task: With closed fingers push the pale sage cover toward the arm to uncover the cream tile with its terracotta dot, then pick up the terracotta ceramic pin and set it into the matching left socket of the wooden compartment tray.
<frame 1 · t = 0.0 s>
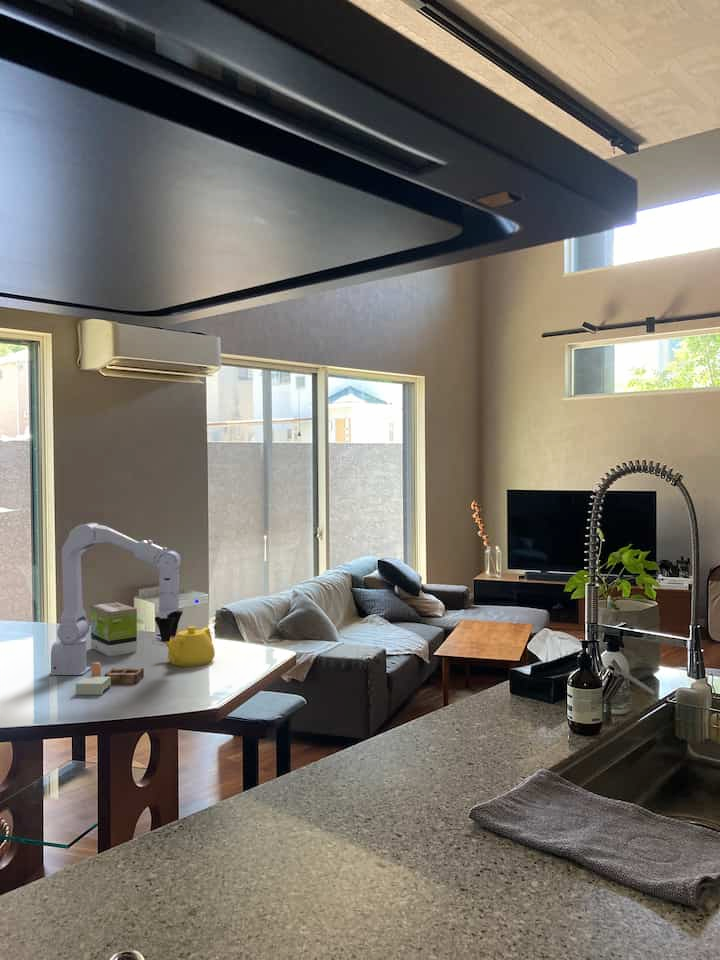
hand: (168, 638, 223), 10 cm above the table, fingers open, 7 cm apart
pin: (95, 684, 210), on the table
tile: (93, 691, 203), on the table
teapot: (185, 662, 237), on the table
cover: (93, 685, 203), point 2 cm above the table, slide at 0.0 cm
wooden compartment tray: (124, 680, 214), on the table
tea box: (113, 651, 251), on the table
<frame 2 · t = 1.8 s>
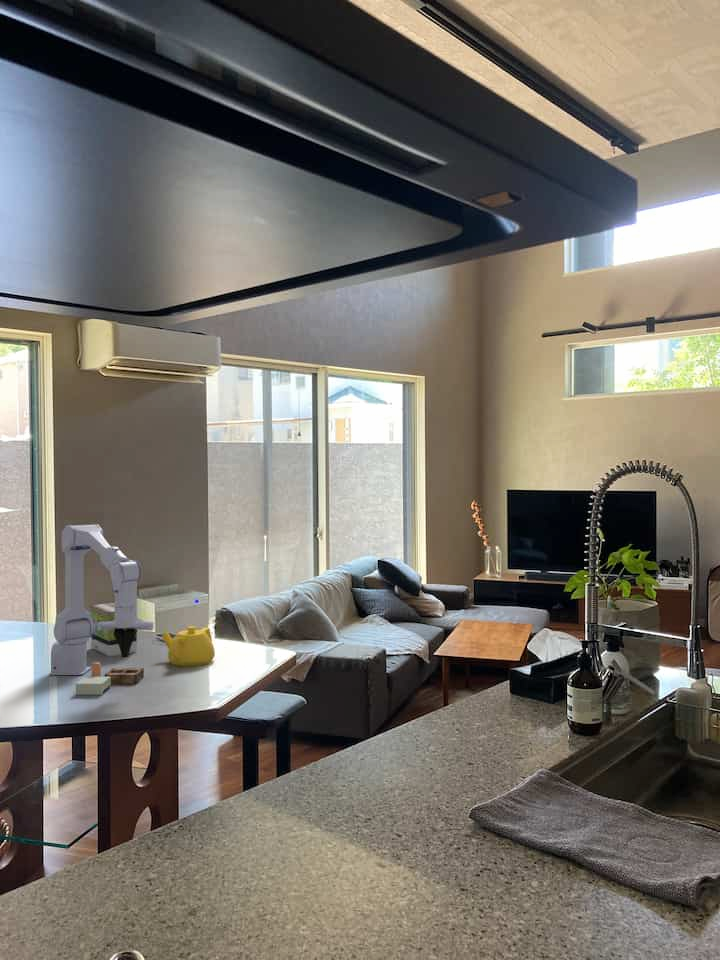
hand: (125, 656, 203), 9 cm above the table, fingers closed
nothing on the table moved.
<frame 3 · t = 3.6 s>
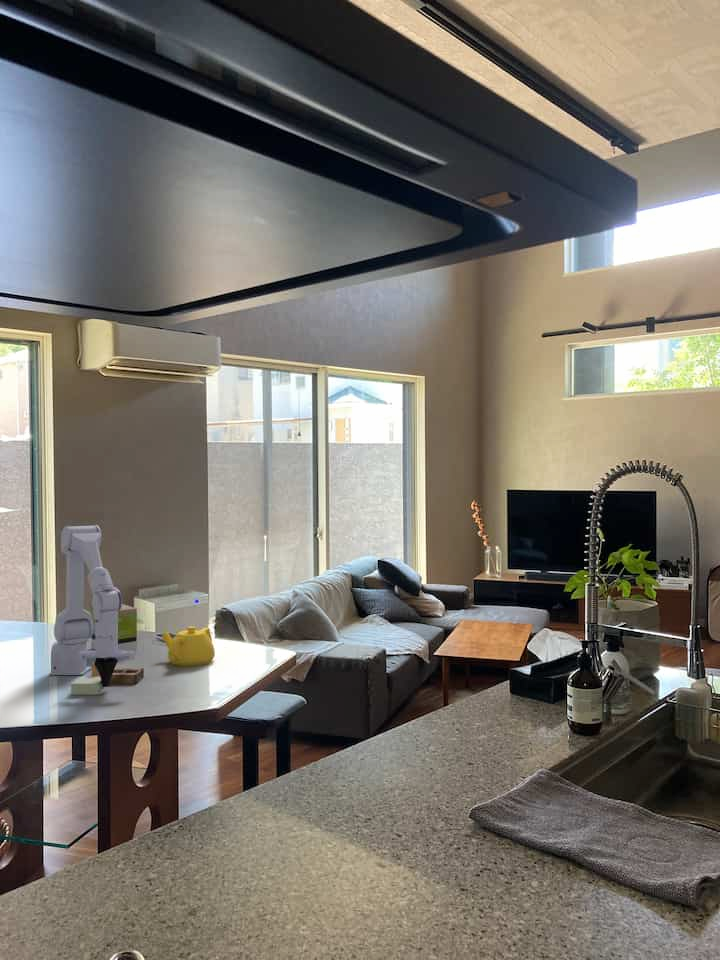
hand: (106, 686, 203), 1 cm above the table, fingers closed
cover: (89, 685, 203), point 2 cm above the table, slide at 1.2 cm, touching gripper
everything else where it was.
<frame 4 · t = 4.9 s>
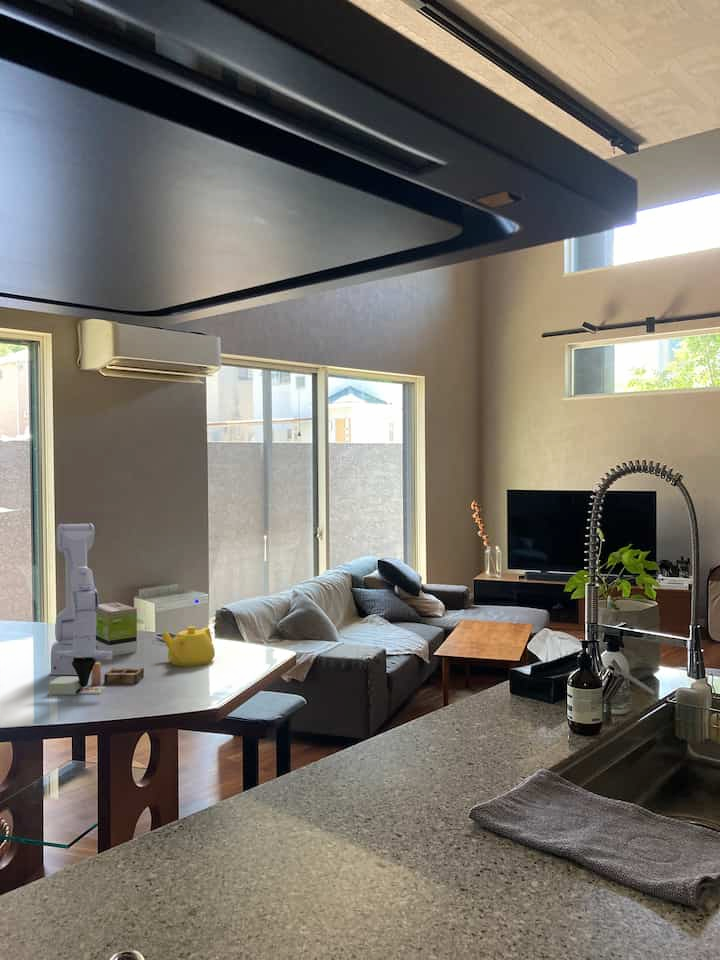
hand: (84, 685, 203), 1 cm above the table, fingers closed
cover: (66, 685, 203), point 2 cm above the table, slide at 7.1 cm, touching gripper
everything else where it was.
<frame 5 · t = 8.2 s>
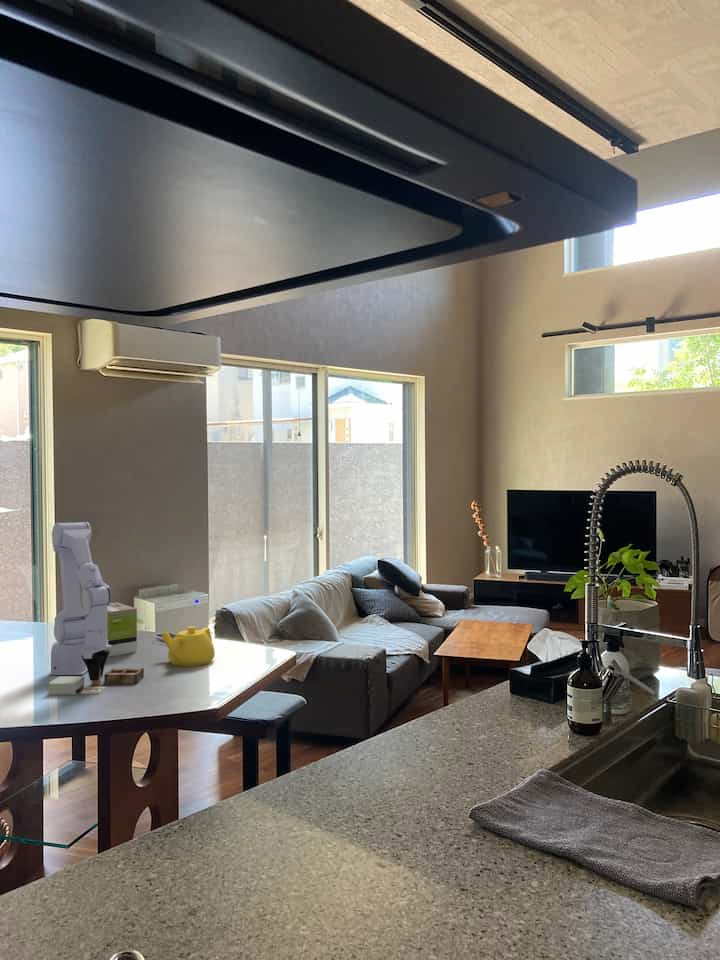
hand: (96, 678, 210), 2 cm above the table, fingers closed on pin, 2 cm apart
pin: (96, 684, 210), on the table, touching gripper
cover: (66, 685, 203), point 2 cm above the table, slide at 7.1 cm
everything else where it was.
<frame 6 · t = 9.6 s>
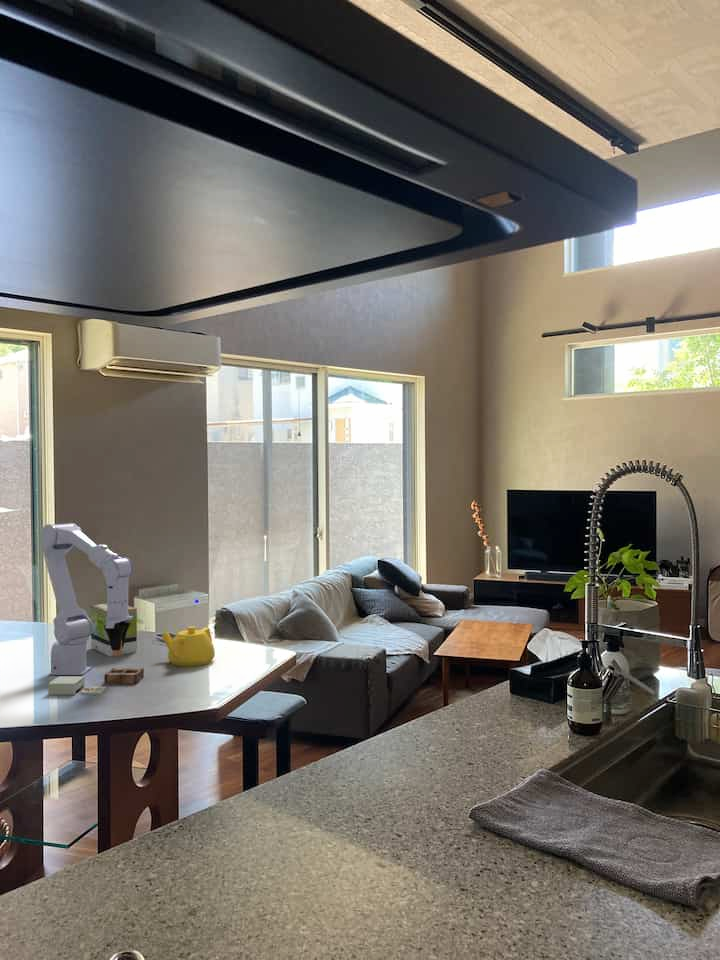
hand: (117, 648, 214), 9 cm above the table, fingers closed on pin, 2 cm apart
pin: (117, 655, 214), point 7 cm above the table, touching gripper
everything else where it was.
when the fingers open (3 cm above the table, at t = 10.9 s): pin drops 1 cm, resting in wooden compartment tray.
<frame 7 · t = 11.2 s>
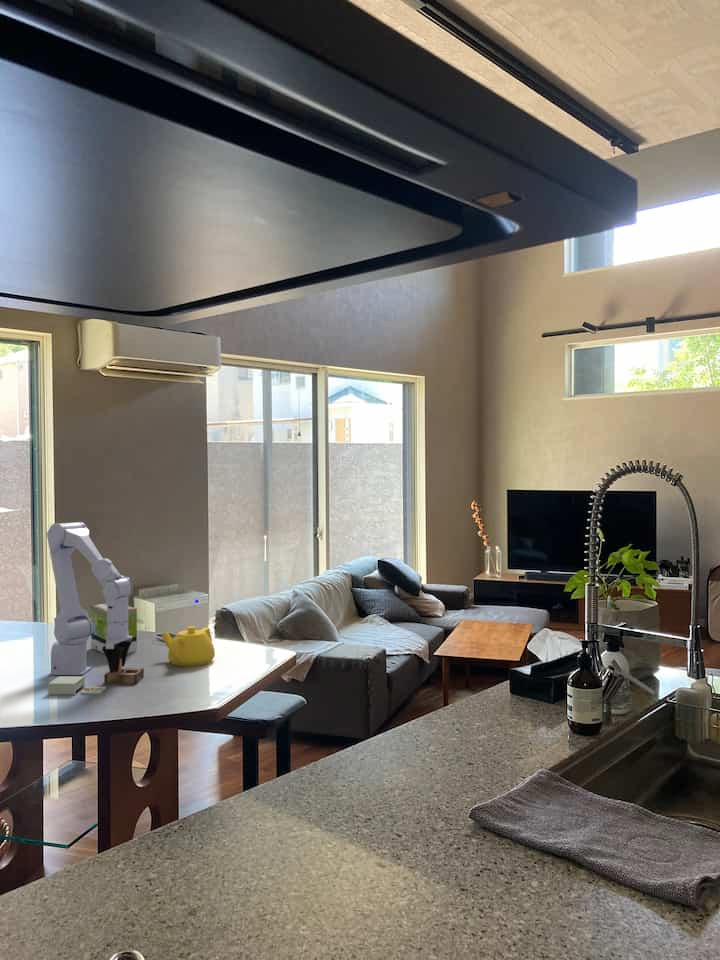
hand: (117, 668, 214), 3 cm above the table, fingers open, 5 cm apart
pin: (117, 680, 214), resting in wooden compartment tray
everything else where it was.
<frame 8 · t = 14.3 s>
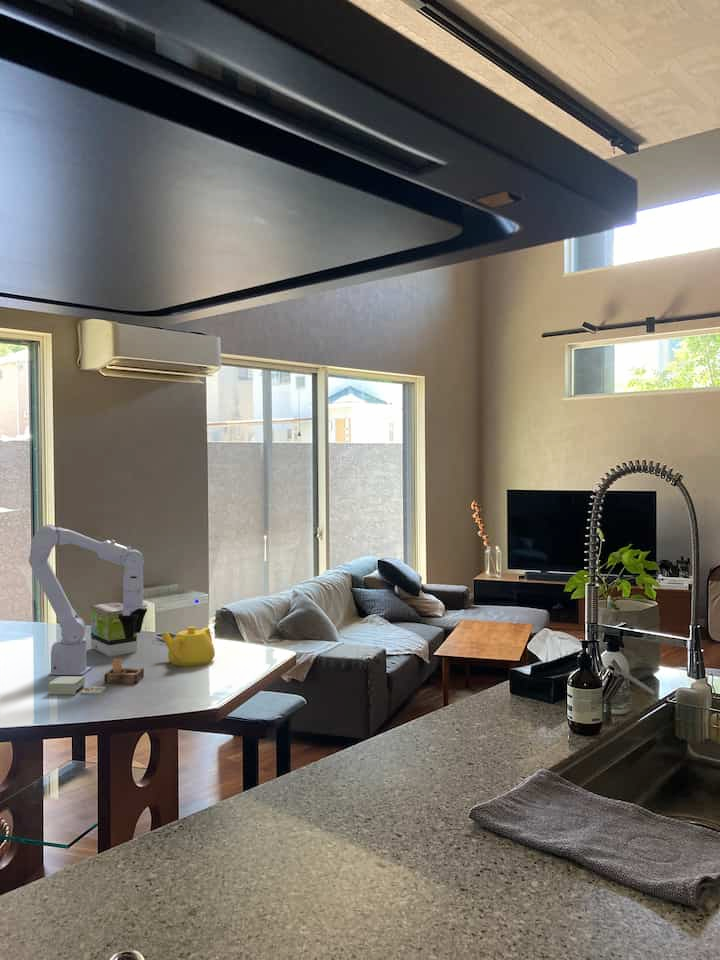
hand: (133, 635, 228), 10 cm above the table, fingers open, 7 cm apart
nothing on the table moved.
at the end: cover slide at 7.1 cm; pin 0.0 cm from the target spot on the wooden compartment tray, point 0.0 cm above the wooden compartment tray's base; pin tilted 0° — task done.
